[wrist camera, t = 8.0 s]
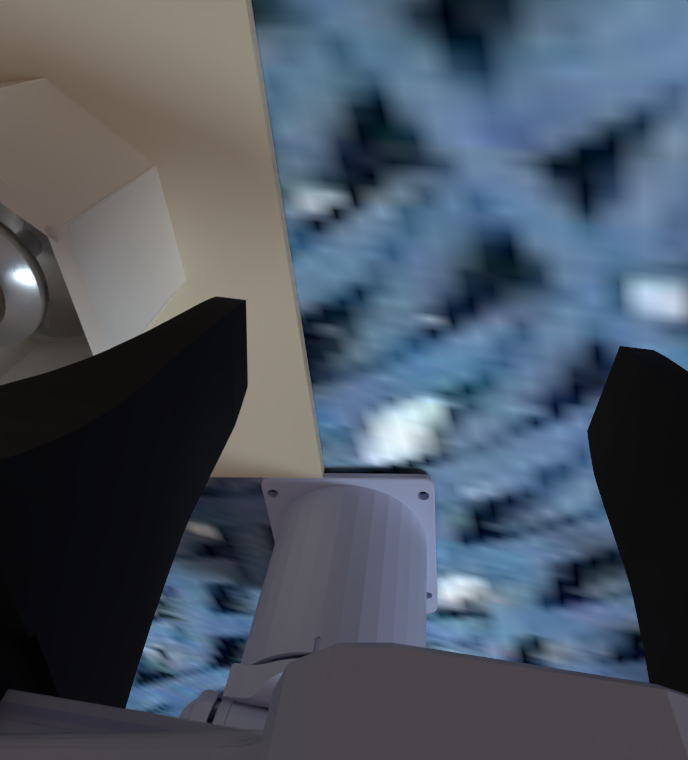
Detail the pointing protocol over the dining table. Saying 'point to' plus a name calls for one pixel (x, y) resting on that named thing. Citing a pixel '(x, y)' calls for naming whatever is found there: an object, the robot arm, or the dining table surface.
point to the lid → (31, 285)
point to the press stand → (157, 194)
